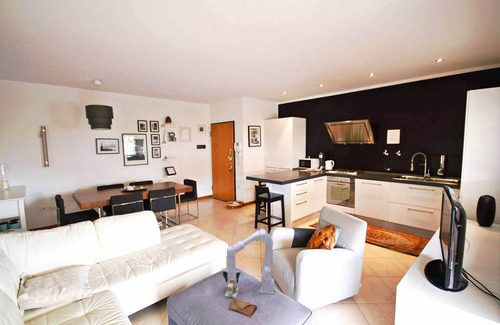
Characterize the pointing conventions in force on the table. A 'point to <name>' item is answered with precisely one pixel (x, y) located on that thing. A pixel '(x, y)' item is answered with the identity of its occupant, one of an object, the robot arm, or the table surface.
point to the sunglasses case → (242, 307)
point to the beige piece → (231, 285)
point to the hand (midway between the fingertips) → (232, 282)
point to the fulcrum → (232, 293)
